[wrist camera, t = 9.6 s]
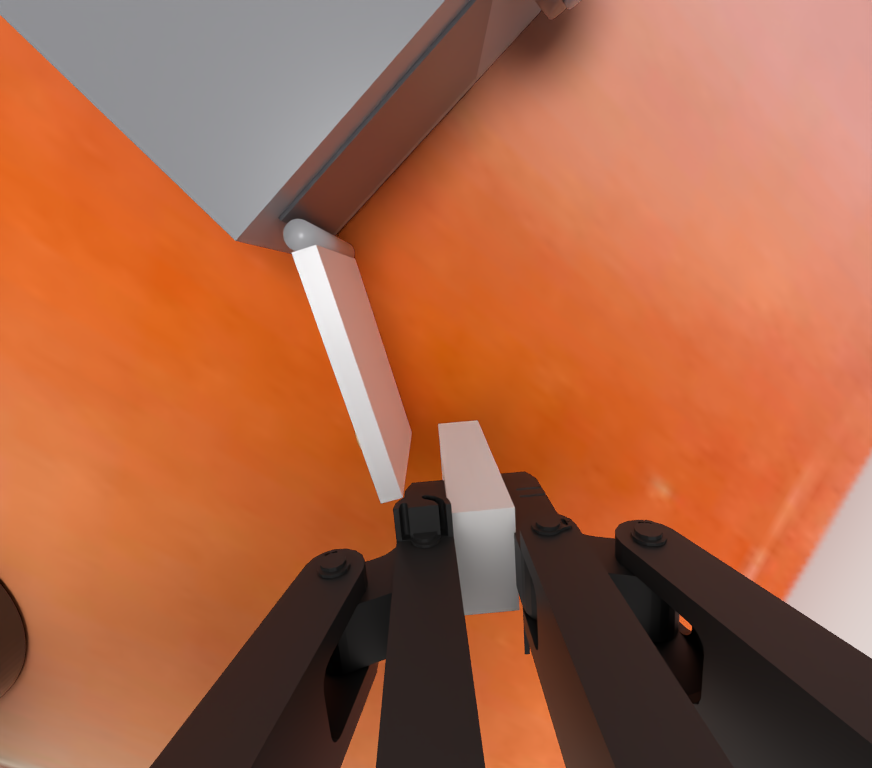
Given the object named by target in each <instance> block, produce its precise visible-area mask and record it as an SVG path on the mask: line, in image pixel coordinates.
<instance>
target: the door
mask: <svg viewBox="0 0 872 768" xmlns="http://www.w3.org/2000/svg"><path fill="white" fill-rule="evenodd" d="M283 237H284V241H285V243H286V244H287V246H288V247H289V248H290V249H292V250H294V251H295V252H292V255H293V258H294V261H295V264H296V267H297V270H298V272H299V275H300V278H301V281H302V284H303V286H304V289H305V292H306V295H307V298H308V300H309V303H310V306H311V309H312V312H313V314H314V317H315V320H316V323H317V326H318V328H319V331H320V334H321V337H322V340H323V343H324V345H325V348H326V351H327V354H328V357H329V359H330V362H331V365H332V368H333V371H334V373H335V376H336V379H337V382H338V385H339V387H340V390H341V393H342V396H343V399H344V401H345V404H346V407H347V410H348V413H349V416H350V418H351V421H352V424H353V427H354V430H355V435H356V439H357V442H358V445H359V447H360V448H361V449H362V452H363V455H364V458H365V460H366V463H367V466H368V469H369V472H370V474H371V477H372V480H373V483H374V486H375V489H376V491H377V494H378V497H379V500H380V503H385V502H389V501H392V500H396V499H399V498H403V492H404V485H405V478H406V471H407V464H408V457H409V450H410V443H411V436H412V432H411V428H410V425H409V422H408V419H407V416H406V413H405V410H404V407H403V404H402V401H401V398H400V395H399V392H398V389H397V385H396V382H395V379H394V376H393V373H392V370H391V367H390V364H389V361H388V358H387V355H386V352H385V349H384V345H383V342H382V339H381V336H380V333H379V330H378V327H377V324H376V321H375V318H374V315H373V312H372V309H371V306H370V302H369V299H368V296H367V293H366V290H365V287H364V284H363V281H362V278H361V275H360V272H359V269H358V266H357V262H356V259H354V256H355V251H354V248H353V246H352V245H351V244H349V243H347V242H346V241H344V240H342V239H340V238H338V237H336V236H334V235H332V234H330V233H328V232H326V231H324V230H322V229H321V228H319V227H317V226H315V225H313V224H311V223H309V222H307V221H305V220H303V219H293V220H291V221H290V222H288V223H287V224H286V226H285V228H284V231H283Z"/></svg>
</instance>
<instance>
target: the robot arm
mask: <svg viewBox="0 0 872 768" xmlns="http://www.w3.org/2000/svg"><path fill="white" fill-rule="evenodd" d="M438 429H439V441H440V453H441V465H442V477H443V480H439V481H428V482H416V483H412V484H411V485H410V486H409V487H408V488H407V489H406V491H405V497H404V498H402V499H401V500H400V501H398V502H397V503H396V504H395V506H394V508H393V513H394V522H395V531H396V539H397V544H396V548H394V549H393V550H392V551H391V552H389V553H387V554H386V555H384V556H382V557H379V558H376V559H373V560H370V561H367V562H365V560H364V558H363V555H362V554H360V553H359V552H357V551H355V550H350V549H335V550H331V551H327V552H324V553H322V554H320V555H319V556H317V557H315V558H313V559H312V560H311V561H310V562H309V563H308V564H307V565H306V566H305V567H304V568H303V570H302V571H301V572H300V573H299V575H298V576H297V577H296V579H295V580H294V581H293V583H292V584H291V585H290V586H289V588H288V589H287V590H286V592H285V593H284V594H283V596H282V597H281V598H280V599H279V601H278V602H277V603H276V605H275V606H274V607H273V608H272V610H271V611H270V612H269V614H268V615H267V616H266V618H265V619H264V620H263V621H262V623H261V624H260V625H259V627H258V628H257V629H256V630H255V632H254V633H253V634H252V636H251V637H250V638H249V640H248V641H247V642H246V643H245V645H244V646H243V647H242V649H241V650H240V651H239V653H238V654H237V655H236V656H235V658H234V659H233V660H232V662H231V663H230V664H229V665H228V667H227V668H226V669H225V671H224V672H223V673H222V675H221V676H220V677H219V678H218V680H217V681H216V682H215V684H214V685H213V686H212V687H211V689H210V690H209V691H208V693H207V694H206V695H205V697H204V698H203V699H202V700H201V702H200V703H199V704H198V706H197V707H196V708H195V709H194V711H193V712H192V713H191V715H190V716H189V717H188V719H187V720H186V721H185V722H184V724H183V725H182V726H181V728H180V729H179V730H178V732H177V733H176V734H175V735H174V737H173V738H172V739H171V741H170V742H169V743H168V744H167V746H166V747H165V748H164V750H163V751H162V752H161V754H160V755H159V756H158V757H157V759H156V760H155V761H154V763H153V764H152V765H151V766H150V768H340V767H341V765H342V762H343V760H344V757H345V754H346V752H347V749H348V747H349V744H350V741H351V739H352V736H353V733H354V731H355V728H356V726H357V723H358V720H359V718H360V715H361V712H362V710H363V707H364V705H365V702H366V699H367V697H368V694H369V691H370V689H371V686H372V684H373V681H374V678H375V676H376V673H377V668H378V662H379V661H381V660H384V659H386V664H385V675H384V686H383V697H382V708H381V718H380V729H379V740H378V751H377V762H376V768H485V763H484V755H483V748H482V741H481V733H480V726H479V719H478V711H477V704H476V696H475V689H474V682H473V674H472V667H471V660H470V652H469V645H468V638H467V630H466V623H465V615H472V614H483V613H493V612H504V611H514V610H519V596H520V599H521V602H522V605H523V620H524V644H525V654H530V649H531V652H532V656H533V659H534V662H535V666H536V669H537V672H538V676H539V679H540V682H541V686H542V689H543V692H544V696H545V699H546V702H547V706H548V709H549V712H550V716H551V719H552V722H553V726H554V729H555V732H556V736H557V739H558V743H559V746H560V749H561V753H562V756H563V759H564V763H565V766H566V768H872V659H871V658H870V657H868V656H867V655H865V654H864V653H862V652H861V651H859V650H857V649H856V648H854V647H853V646H851V645H850V644H848V643H847V642H845V641H844V640H842V639H840V638H839V637H837V636H836V635H834V634H833V633H831V632H829V631H828V630H827V629H825V628H823V627H822V626H820V625H819V624H817V623H816V622H814V621H813V620H811V619H810V618H808V617H807V616H805V615H804V614H802V613H801V612H799V611H797V610H796V609H794V608H793V607H791V606H790V605H788V604H787V603H785V602H784V601H782V600H781V599H779V598H778V597H776V596H774V595H773V594H771V593H770V592H768V591H767V590H765V589H764V588H762V587H761V586H759V585H758V584H756V583H754V582H753V581H751V580H750V579H748V578H747V577H745V576H744V575H742V574H741V573H739V572H738V571H736V570H734V569H733V568H731V567H730V566H728V565H727V564H725V563H724V562H722V561H721V560H719V559H718V558H716V557H714V556H713V555H711V554H710V553H708V552H707V551H705V550H704V549H702V548H701V547H699V546H698V545H696V544H694V543H693V542H691V541H690V540H688V539H687V538H685V537H684V536H682V535H681V534H679V533H678V532H676V531H674V530H673V529H671V528H669V527H667V526H665V525H663V524H659V523H655V522H652V521H648V520H645V521H644V520H634V521H626V522H624V523H622V524H620V525H619V526H618V527H617V528H616V530H615V539H613V538H603V537H595V536H589V535H585V534H582V533H581V531H580V530H579V528H578V527H577V525H576V524H575V523H574V522H573V521H572V520H571V519H569V518H567V517H565V516H563V515H559V514H557V512H556V510H555V509H554V507H553V505H552V504H551V502H550V500H549V499H548V497H547V495H545V492H544V490H543V489H542V488H541V486H540V484H539V482H538V481H537V479H536V478H535V477H533V476H532V475H530V474H528V473H527V472H514V473H503V474H500V472H499V469H498V467H497V465H496V462H495V460H494V458H493V455H492V453H491V451H490V448H489V446H488V444H487V441H486V439H485V436H484V434H483V432H482V429H481V427H480V425H479V422H478V420H476V421H465V422H453V423H442V424H438ZM518 593H519V594H518ZM679 614H680V615H681V616H682V617H683V618H684V619H686V620H687V621H688V622H689V623H690V624H691V625H692V631H690V630H688V629H687V628H686V627H684V626H683V625H682V624H681V623H680V622H679ZM25 650H26V642H25V633H24V628H23V624H22V621H21V618H20V615H19V613H18V610H17V608H16V606H15V604H14V603H13V601H12V599H11V598H10V596H9V595H8V593H7V592H6V590H5V589H4V588H3V586H2V585H1V584H0V697H1V696H2V695H3V694H4V693H5V692H6V691H8V689H9V688H10V687H11V686H12V685H13V683H14V682H15V681H16V679H17V677H18V675H19V673H20V671H21V669H22V666H23V662H24V658H25Z"/></svg>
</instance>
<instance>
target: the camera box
mask: <svg viewBox="0 0 872 768" xmlns="http://www.w3.org/2000/svg"><path fill="white" fill-rule="evenodd" d="M580 1H581V0H0V15H1V16H2V17H3V18H4V19H5V20H6V21H7V22H8V23H9V24H10V25H11V26H13V27H14V28H15V29H16V30H17V31H18V32H19V33H20V34H21V35H22V36H23V37H24V38H25V39H26V40H27V41H28V42H29V43H30V44H31V45H32V46H33V47H34V48H35V49H36V50H37V51H39V52H40V53H41V54H42V55H43V56H44V57H45V58H46V59H47V60H48V61H49V62H50V63H51V64H52V65H53V66H54V67H55V68H56V69H57V70H58V71H59V72H60V73H61V74H62V75H64V76H65V77H66V78H67V79H68V80H69V81H70V82H71V83H72V84H73V85H74V86H75V87H76V88H77V89H78V90H79V91H80V92H81V93H82V94H83V95H84V96H85V97H86V98H87V99H89V100H90V101H91V102H92V103H93V104H94V105H95V106H96V107H97V108H98V109H99V110H100V111H101V112H102V113H103V114H104V115H105V116H106V117H107V118H108V119H109V120H110V121H111V122H112V123H114V124H115V125H116V126H117V127H118V128H119V129H120V130H121V131H122V132H123V133H124V134H125V135H126V136H127V137H128V138H129V139H130V140H131V141H132V142H133V143H134V144H135V145H136V146H137V147H139V148H140V149H141V150H142V151H143V152H144V153H145V154H146V155H147V156H148V157H149V158H150V159H151V160H152V161H153V162H154V163H155V164H156V165H157V166H158V167H159V168H160V169H161V170H162V171H164V172H165V173H166V174H167V175H168V176H169V177H170V178H171V179H172V180H173V181H174V182H175V183H176V184H177V185H178V186H179V187H180V188H181V189H182V190H183V191H184V192H185V193H186V194H187V195H188V196H190V197H191V198H192V199H193V200H194V201H195V202H196V203H197V204H198V205H199V206H200V207H201V208H202V209H203V210H204V211H205V212H206V213H207V214H208V215H209V216H210V217H211V218H212V219H213V220H215V221H216V222H217V223H218V224H219V225H220V226H221V227H222V228H223V229H224V230H225V231H226V232H227V233H228V234H229V235H230V236H231V237H232V238H233V239H234V240H235V241H239V242H243V243H247V244H252V245H256V246H260V247H264V248H269V249H273V250H277V251H282V252H286V253H290V254H292V252H295V251H294V250H292V249H290V248H289V247H288V246H287V244H286V243H285V241H284V237H283V231H284V228H285V226H286V224H287V223H288V222H290V221H291V220H293V219H303V220H305V221H307V222H309V223H311V224H313V225H315V226H317V227H319V228H321V229H322V230H324V231H326V232H328V233H330V234H332V235H334V236H335V235H336V234H337V233H338V232H339V231H340V230H341V229H342V228H343V227H344V225H345V224H346V223H347V222H348V221H349V220H350V219H351V218H352V217H353V216H354V215H355V213H356V212H357V211H358V210H359V209H360V208H361V207H362V206H363V205H364V204H365V203H366V201H367V200H368V199H369V198H370V197H371V196H372V195H373V194H374V193H375V192H376V190H377V189H378V188H379V187H380V186H381V185H382V184H383V183H384V182H385V181H386V180H387V178H388V177H389V176H390V175H391V174H392V173H393V172H394V171H395V170H396V169H397V168H398V166H399V165H400V164H401V163H402V162H403V161H404V160H405V159H406V158H407V157H408V156H409V154H410V153H411V152H412V151H413V150H414V149H415V148H416V147H417V146H418V145H419V144H420V142H421V141H422V140H423V139H424V138H425V137H426V136H427V135H428V134H429V133H430V132H431V130H432V129H433V128H434V127H435V126H436V125H437V124H438V123H439V122H440V121H441V120H442V118H443V117H444V116H445V115H446V114H447V113H448V112H449V111H450V110H451V109H452V108H453V106H454V105H455V104H456V103H457V102H458V101H459V100H460V99H461V98H462V97H463V96H464V94H465V93H466V92H467V91H468V90H469V89H470V88H471V87H472V86H473V85H474V84H475V82H476V81H477V80H478V79H479V78H480V77H481V76H482V75H483V74H484V73H485V72H486V70H487V69H488V68H489V67H490V66H491V65H492V64H493V63H494V62H495V61H496V60H497V58H498V57H499V56H500V55H501V54H502V53H503V52H504V51H505V50H506V49H507V48H508V46H509V45H510V44H511V43H512V42H513V41H514V40H515V39H516V38H517V37H518V36H519V34H520V33H521V32H522V31H523V30H524V29H525V28H526V27H527V26H528V25H529V24H530V22H531V21H532V20H533V19H534V18H535V17H536V16H537V15H538V14H539V13H540V12H541V10H542V11H543V12H544V13H545V15H546V16H547V17H548V18H549V19H550V20H552V19H554V18H556V17H557V16H558V15H560V14H561V13H562V12H563V11H564V10H565V9H566V8H568V9H572V8H573V7H575V6H576V5H577V4H578V3H579V2H580Z"/></svg>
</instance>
